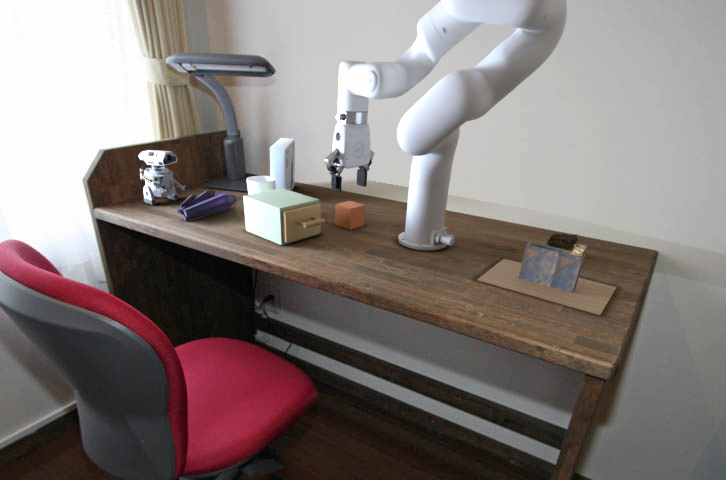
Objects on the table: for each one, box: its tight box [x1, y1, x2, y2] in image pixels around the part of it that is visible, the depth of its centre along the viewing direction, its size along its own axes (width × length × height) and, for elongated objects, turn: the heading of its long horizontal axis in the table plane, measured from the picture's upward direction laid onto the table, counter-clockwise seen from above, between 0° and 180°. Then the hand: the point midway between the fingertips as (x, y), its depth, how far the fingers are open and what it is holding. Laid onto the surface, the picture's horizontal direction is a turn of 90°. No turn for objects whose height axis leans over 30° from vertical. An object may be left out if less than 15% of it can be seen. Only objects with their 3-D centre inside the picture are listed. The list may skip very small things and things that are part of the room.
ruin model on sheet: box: [476, 241, 618, 316], centre depth 99 cm, size 25×16×10 cm, turn 54°
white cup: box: [246, 175, 276, 195], centre depth 134 cm, size 8×8×10 cm
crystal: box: [176, 190, 237, 222], centre depth 133 cm, size 7×12×20 cm
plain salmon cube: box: [334, 200, 366, 231], centre depth 129 cm, size 6×6×6 cm
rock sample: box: [546, 233, 583, 251], centre depth 117 cm, size 10×8×9 cm
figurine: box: [138, 149, 189, 206], centre depth 139 cm, size 9×12×15 cm
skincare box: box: [269, 137, 296, 191], centre depth 154 cm, size 21×6×16 cm, turn 179°
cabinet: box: [242, 188, 320, 246], centre depth 121 cm, size 15×13×9 cm
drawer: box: [282, 203, 326, 243], centre depth 119 cm, size 18×11×7 cm, turn 47°
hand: (349, 188), depth 126 cm, fingers open, 9 cm apart
